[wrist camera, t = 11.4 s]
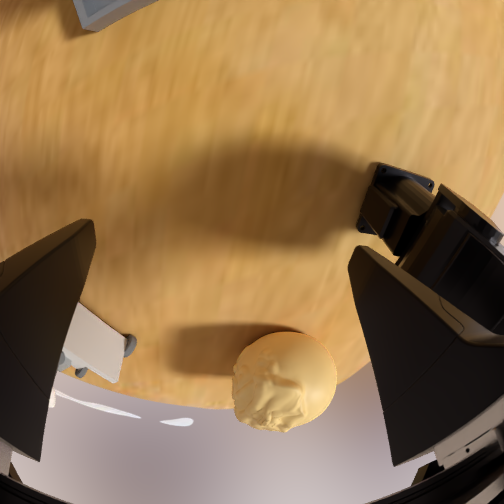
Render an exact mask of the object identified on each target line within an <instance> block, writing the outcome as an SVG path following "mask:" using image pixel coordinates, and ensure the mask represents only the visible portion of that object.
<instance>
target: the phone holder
mask: <svg viewBox="0 0 504 504" xmlns="http://www.w3.org/2000/svg"><path fill="white" fill-rule="evenodd" d="M136 343H137V339H136V338H135V337H134V336H133V335H129V336H128V337H127V338H125V337H123V336H122V335H121V334H119V333H118V332H116V331H115V330H114V329H112V328H111V327H110V326H108V325H107V324H106V323H104V322H103V321H102V320H100V319H99V318H98V317H97V316H95V315H94V314H93V313H92V312H90V311H89V310H88V309H87V308H85V307H84V306H83V305H82V304H80V303H79V302H78V304H77V307H76V309H75V312H74V315H73V318H72V321H71V324H70V327H69V330H68V333H67V336H66V339H65V343H64V346H63V349H62V353H61V356H60V360H59V363H58V367H57V370H58V371H59V372H61V371H63V370H65V369H66V368H68V367H70V365H72V366H73V367H75V368H76V370H75V375H76V376H77V377H79V378H82V377H83V376H84V375H85V374H86V372H87V370H88V368H89V369H90V370H92V371H93V372H95V373H96V374H98V375H100V376H101V377H103V378H105V379H106V380H108V381H110V382H111V383H115V382H118V378H119V374H120V369H121V365H122V361H123V357H128V356H129V355H130V354H131V353H132V352H133V351H134V349H135V347H136ZM56 373H57V371H56ZM55 376H56V375H55ZM49 401H50V402H49V407H54V406H55V391H54V388H53V387H52V392H51V396H50V400H49Z"/></svg>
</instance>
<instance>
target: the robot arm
mask: <svg viewBox="0 0 504 504" xmlns="http://www.w3.org/2000/svg"><path fill="white" fill-rule="evenodd" d="M382 168H384V171H382V172H381V170H382ZM429 183H430V185H429ZM428 185H429V186H428ZM433 188H434V181H432V180H431V179H429V178H426V177H424V176H421V175H418V174H415V173H412V172H409V171H406V170H403V169H400V168H397V167H394V166H390V165H387V164H384V163H381V164H379V165H378V166H377V169H376V172H375V175H374V177H373V180H372V183H371V186H369V189H368V191H367V194H366V197H365V200H364V203H363V205H362V208H361V211H360V212H361V214H360V216H359V219H358V222H357V224H356V228H357V230H358V231H359V232H361V233H367V234H373V235H378V237H379V238H380V239H382V240H383V241H384V243H385V244H386V245H387V247H388V248H389V249H390V251H391V252H392V254H393V255H394V256H398V257H399V259H398V260H397V262H396V263H395V264H394V263H392V262H391V261H389V260H388V259H386V258H385V257H383V256H382V255H380V254H379V253H377V252H376V251H374V250H373V249H371V248H369V247H368V246H361V245H358V246H356V248H355V249H354V252H353V254H352V257H351V259H350V261H349V264H348V273H349V278H350V282H351V287H352V292H353V297H354V302H355V306H356V310H357V313H358V316H359V320H360V323H361V326H362V330H363V333H364V337H365V341H366V344H367V348H368V351H369V355H370V359H371V363H372V367H373V370H374V374H375V379H376V383H377V387H378V391H379V395H380V400H381V405H382V409H383V411H384V412H383V414H384V419H385V424H386V429H387V434H388V440H389V445H390V451H391V457H392V462H393V466H394V467H395V466H398V465H401V464H403V463H406V462H409V461H411V460H414V459H416V458H419V457H421V456H423V455H425V454H428V453H430V452H432V451H434V452H435V455H436V458H437V460H435V461H432V462H430V463H428V464H426V465H424V466H422V467H420V468H419V469H418V472H417V474H416V476H415V478H414V480H413V483H412V485H411V486H410V487H408V488H406V489H403V490H401V491H398V492H396V493H393V494H391V495H388V496H386V497H383V498H380V499H377V500H374V501H371V502H368V503H366V504H504V247H503V246H502V245H501V244H500V241H501V239H502V237H503V236H504V234H503V233H502V232H501V230H500V229H499V228H498V227H497V226H496V225H495V223H494V222H493V221H492V220H491V219H490V218H488V217H487V216H486V215H485V214H484V213H482V212H481V211H480V210H479V209H478V208H476V207H475V206H474V205H473V204H471V203H470V202H468V201H467V200H466V199H464V198H463V197H461V196H460V195H458V194H457V193H455V192H454V191H452V190H451V189H449V188H448V187H446V186H445V185H443V184H442V183H441V184H440V186H439V188H438V190H439V191H438V193H437V195H436V197H435V196H434V195H433V194H432V190H433ZM362 225H364V226H363V227H362V228H360V227H361V226H362ZM95 248H96V236H95V229H94V223H93V221H92V220H91V219H80V220H78V221H75V222H73V223H71V224H69V225H67V226H66V227H64V228H62V229H60V230H58V231H56V232H54V233H52V234H50V235H48V236H46V237H45V238H43V239H41V240H39V241H37V242H35V243H34V244H32V245H30V246H28V247H26V248H25V249H23V250H21V251H20V252H18V253H16V254H14V255H13V256H11V257H9V258H8V259H6V260H5V261H3V262H1V263H0V504H72V503H69V502H66V501H64V500H61V499H58V498H55V497H53V496H50V495H48V494H45V493H43V492H40V491H38V490H36V489H33V488H31V487H29V486H27V485H25V484H23V483H22V481H21V479H20V477H19V476H18V474H17V472H16V470H15V468H14V466H13V464H12V463H11V462H10V461H11V456H12V450H13V451H15V452H17V453H19V454H21V455H24V456H26V457H28V458H30V459H33V460H35V461H38V462H40V457H41V450H42V442H43V435H44V429H45V423H46V417H47V412H48V407H49V402H50V401H49V400H50V396H51V392H52V387H53V383H54V379H55V375H56V371H57V367H58V363H59V360H60V356H61V353H62V349H63V346H64V343H65V339H66V336H67V333H68V330H69V327H70V324H71V321H72V318H73V315H74V312H75V309H76V307H77V304H78V301H79V299H80V296H81V293H82V291H83V288H84V285H85V282H86V279H87V275H88V271H89V268H90V265H91V261H92V258H93V255H94V251H95Z"/></svg>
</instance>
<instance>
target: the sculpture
mask: <svg viewBox="0 0 504 504" xmlns="http://www.w3.org/2000/svg"><path fill="white" fill-rule="evenodd" d="M233 371H234V373H235V375H234V376H233V378H232V398H233V399H234V400H235V401H234V405H235V407H234V411H235V415H236V417H237V419H238V420H239V421H240V422H243V423H246V424H248V425H249V426H251V427H253V428H256V429H259V430H269V431H279V432H287V431H288V430H289V429H291V428H293V427H295V426H299V425H302V424H305V423H307V422H310V421H312V420H313V419H315V418H316V417H318V416H319V415H320V414H322V412H323V411H325V409H326V408H327V407H328V405H329V404H330V402H331V400H332V398H333V396H334V393H335V389H336V383H337V373H336V367H335V363H334V360H333V358H332V356H331V354H330V353H329V351H328V350H327V349H326V347H325V346H324V345H323V344H322V343H320V342H319V341H318V340H316V339H315V338H313V337H311V336H308V335H305V334H302V333H297V332H276V333H271V334H268V335H265V336H263V337H261V338H259V339H258V340H256V341H255V342H254V343H253V344H251V345H249V346H247V347H246V348H245V349H244V350H243V352H242V353H241V354H240V355H239V357H238V360H237V362H236V364H235V365H234V366H233Z"/></svg>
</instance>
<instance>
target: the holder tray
mask: <svg viewBox="0 0 504 504" xmlns="http://www.w3.org/2000/svg"><path fill="white" fill-rule="evenodd" d="M156 1H158V0H73V2H74V5H75V8H76V11H77V14H78V17H79V20H80V23H81V25H82V28H83V29H86V30H91V31H96V32H99V31H100V30H102V29H104V28H105V27H107V26H109V25H111V24H112V23H114V22H116V21H118V20H120V19H121V18H123V17H125V16H127V15H129V14H131V13H133V12H135V11H137V10H139V9H141V8H143V7H145V6H147V5H149V4H152V3H154V2H156Z"/></svg>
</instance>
